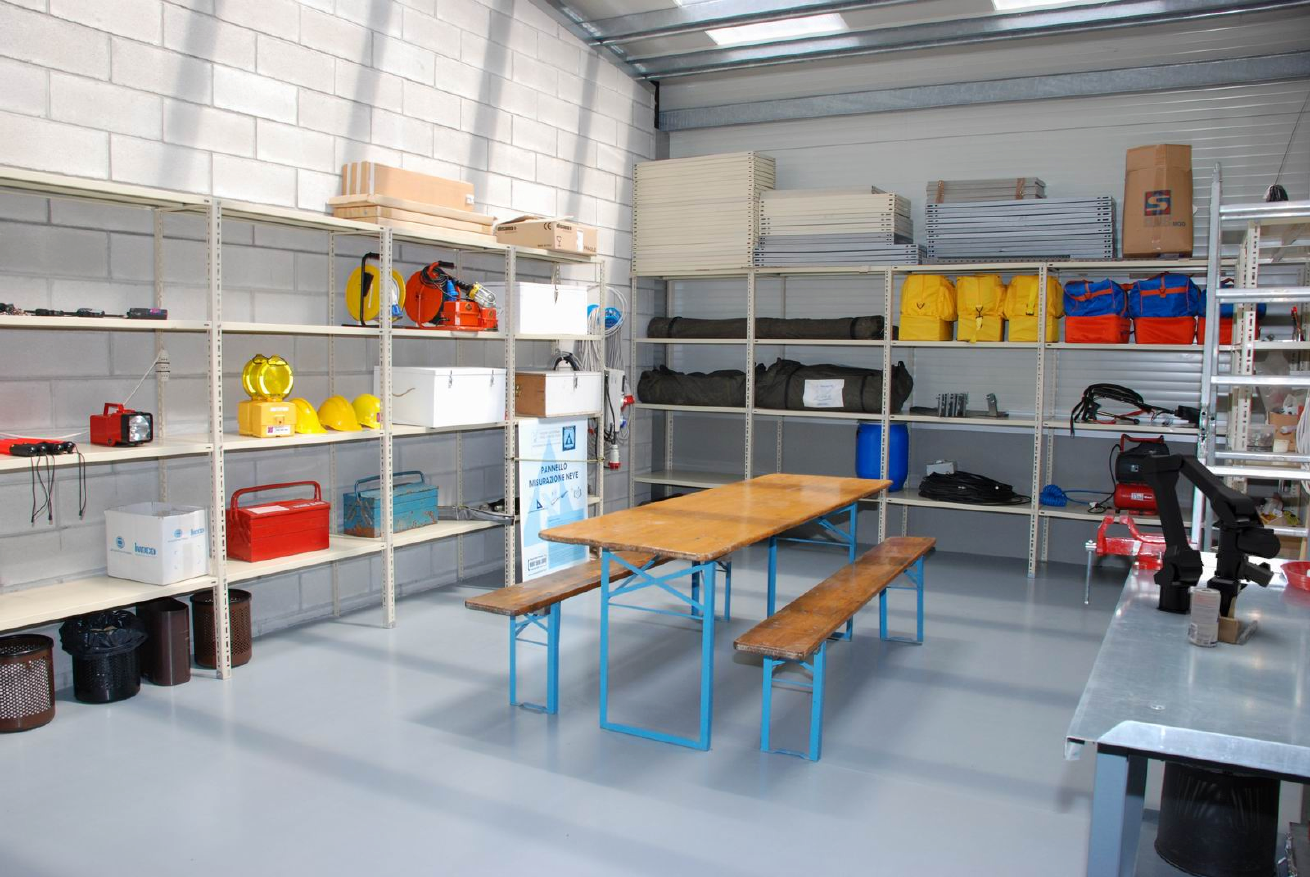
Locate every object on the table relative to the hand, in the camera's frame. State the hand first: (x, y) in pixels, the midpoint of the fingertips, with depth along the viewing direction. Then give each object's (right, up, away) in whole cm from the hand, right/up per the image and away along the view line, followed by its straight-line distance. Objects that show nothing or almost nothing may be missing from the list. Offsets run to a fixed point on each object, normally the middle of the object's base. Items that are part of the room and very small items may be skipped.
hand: (1226, 615), depth 227 cm
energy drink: (-12, -4, -12) cm, 18 cm away
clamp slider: (-4, -3, -4) cm, 6 cm away
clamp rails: (-2, -3, -2) cm, 4 cm away
